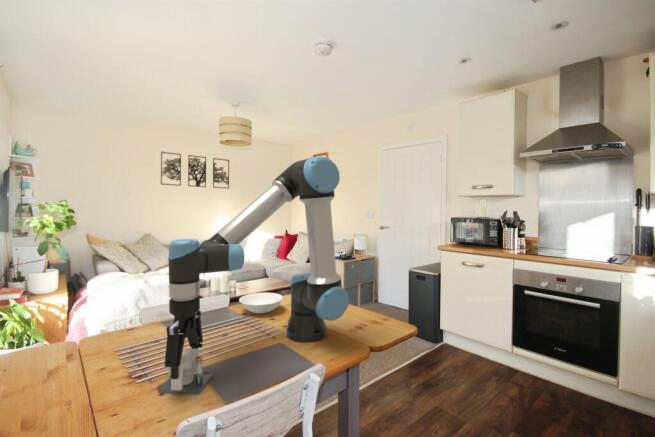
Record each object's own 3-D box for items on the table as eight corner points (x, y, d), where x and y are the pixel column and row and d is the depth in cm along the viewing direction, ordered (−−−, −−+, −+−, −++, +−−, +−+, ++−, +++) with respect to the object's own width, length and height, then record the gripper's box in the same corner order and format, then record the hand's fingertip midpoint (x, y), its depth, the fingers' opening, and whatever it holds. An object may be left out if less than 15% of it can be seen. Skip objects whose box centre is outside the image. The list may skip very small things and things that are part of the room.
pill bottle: (180, 377, 90) (179, 350, 89) (196, 376, 90) (195, 349, 90) (173, 386, 85) (173, 357, 85) (190, 385, 86) (190, 356, 85)
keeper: (212, 377, 91) (211, 351, 91) (198, 394, 83) (198, 365, 83) (174, 376, 92) (173, 350, 92) (157, 392, 84) (157, 363, 84)
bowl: (262, 322, 135) (262, 307, 134) (229, 314, 145) (229, 300, 145) (292, 309, 151) (292, 296, 151) (260, 302, 162) (260, 290, 162)
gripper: (190, 286, 98) (191, 360, 99) (146, 309, 76) (148, 402, 77) (214, 287, 97) (215, 361, 98) (177, 310, 76) (178, 404, 77)
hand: (185, 379), depth 88 cm, fingers open, 8 cm apart
